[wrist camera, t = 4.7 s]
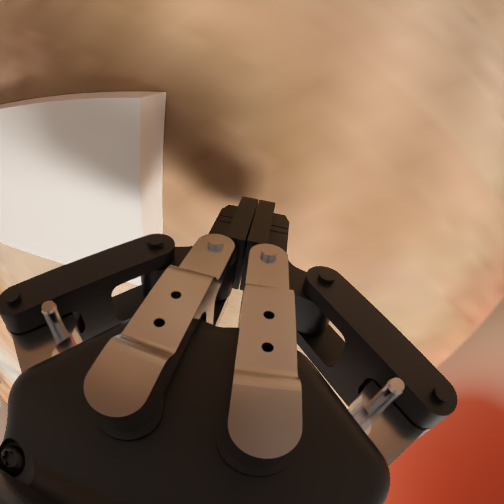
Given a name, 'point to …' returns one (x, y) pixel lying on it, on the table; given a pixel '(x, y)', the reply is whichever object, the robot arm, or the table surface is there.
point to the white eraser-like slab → (81, 172)
